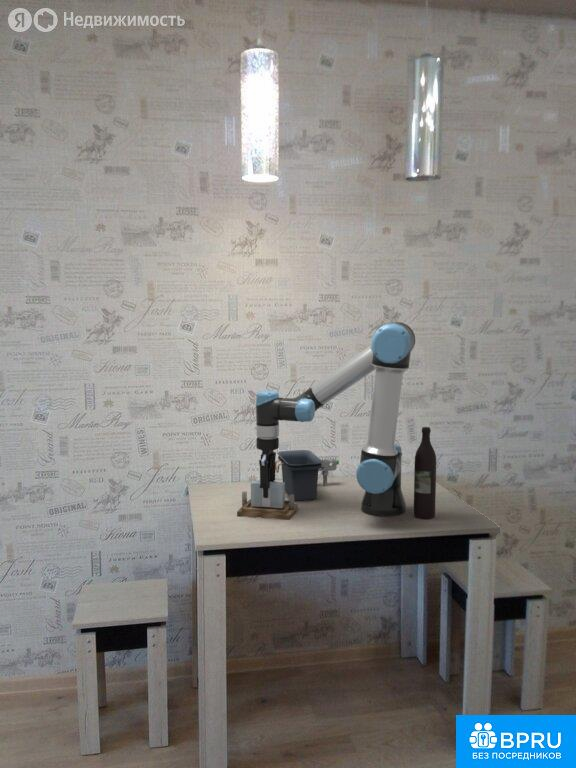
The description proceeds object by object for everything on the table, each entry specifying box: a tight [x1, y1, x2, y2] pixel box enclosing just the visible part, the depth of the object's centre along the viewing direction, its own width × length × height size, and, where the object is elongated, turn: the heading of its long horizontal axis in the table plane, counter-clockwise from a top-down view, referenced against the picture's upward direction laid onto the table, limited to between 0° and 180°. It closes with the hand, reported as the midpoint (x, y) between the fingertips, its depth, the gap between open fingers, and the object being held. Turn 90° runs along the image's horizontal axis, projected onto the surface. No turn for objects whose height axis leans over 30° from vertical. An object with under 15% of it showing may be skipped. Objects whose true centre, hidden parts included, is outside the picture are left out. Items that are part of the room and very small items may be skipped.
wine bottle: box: [413, 426, 437, 520], centre depth 248 cm, size 7×7×30 cm
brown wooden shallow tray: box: [236, 491, 299, 521], centre depth 255 cm, size 18×13×6 cm
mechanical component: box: [318, 458, 340, 487], centre depth 287 cm, size 3×10×10 cm, turn 100°
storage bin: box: [275, 449, 323, 502], centre depth 275 cm, size 21×16×14 cm
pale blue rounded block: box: [250, 480, 286, 508], centre depth 254 cm, size 11×4×8 cm, turn 77°
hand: (268, 504), depth 255 cm, fingers closed on pale blue rounded block, 4 cm apart
